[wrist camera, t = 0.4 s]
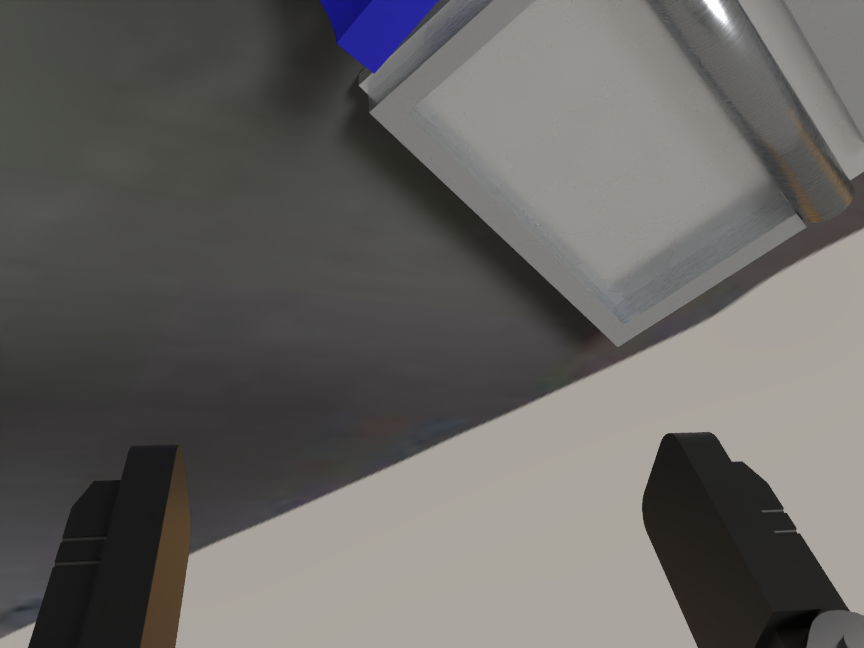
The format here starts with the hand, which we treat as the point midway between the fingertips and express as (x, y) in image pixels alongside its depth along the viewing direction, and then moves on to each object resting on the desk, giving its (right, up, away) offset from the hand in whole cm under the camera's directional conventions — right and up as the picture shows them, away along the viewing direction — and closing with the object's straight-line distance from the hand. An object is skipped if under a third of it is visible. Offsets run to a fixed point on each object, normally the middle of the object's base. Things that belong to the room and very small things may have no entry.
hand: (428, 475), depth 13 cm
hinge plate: (+10, +13, +19) cm, 25 cm away
